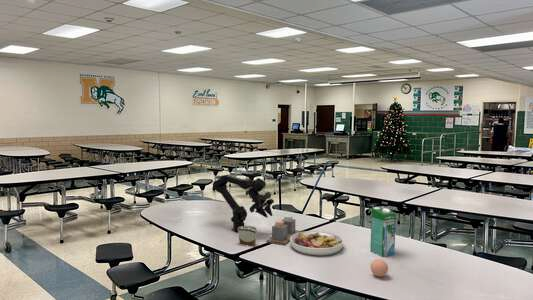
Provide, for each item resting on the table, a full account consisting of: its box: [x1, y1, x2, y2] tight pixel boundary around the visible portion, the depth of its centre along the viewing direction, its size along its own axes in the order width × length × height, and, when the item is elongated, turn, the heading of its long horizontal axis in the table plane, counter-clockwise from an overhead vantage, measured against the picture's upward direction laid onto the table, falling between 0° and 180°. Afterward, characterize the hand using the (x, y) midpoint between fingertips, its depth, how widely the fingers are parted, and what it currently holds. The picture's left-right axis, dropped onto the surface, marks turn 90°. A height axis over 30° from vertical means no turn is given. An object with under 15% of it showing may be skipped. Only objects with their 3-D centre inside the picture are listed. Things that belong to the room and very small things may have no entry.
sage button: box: [283, 214, 293, 221], centre depth 231 cm, size 4×4×3 cm
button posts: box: [271, 218, 296, 241], centre depth 226 cm, size 21×7×8 cm, turn 155°
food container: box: [237, 225, 258, 248], centre depth 214 cm, size 12×6×10 cm, turn 65°
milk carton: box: [369, 205, 397, 258], centre depth 200 cm, size 9×9×25 cm
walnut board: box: [265, 229, 301, 246], centre depth 226 cm, size 26×12×1 cm, turn 155°
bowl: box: [289, 230, 344, 256], centre depth 209 cm, size 30×30×8 cm
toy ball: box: [370, 258, 389, 278], centre depth 171 cm, size 8×8×8 cm
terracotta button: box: [275, 220, 284, 227], centre depth 219 cm, size 4×4×3 cm
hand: (269, 216), depth 223 cm, fingers open, 4 cm apart
